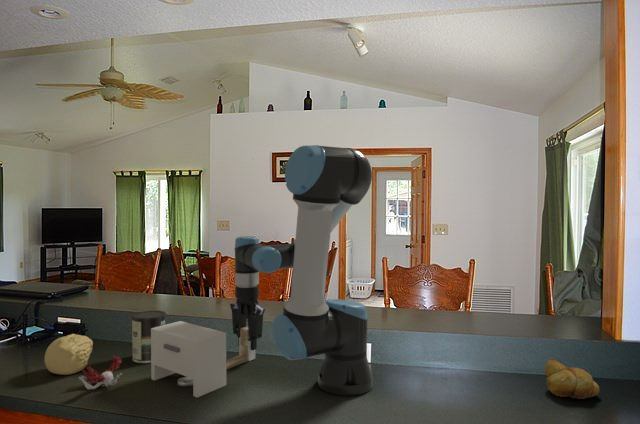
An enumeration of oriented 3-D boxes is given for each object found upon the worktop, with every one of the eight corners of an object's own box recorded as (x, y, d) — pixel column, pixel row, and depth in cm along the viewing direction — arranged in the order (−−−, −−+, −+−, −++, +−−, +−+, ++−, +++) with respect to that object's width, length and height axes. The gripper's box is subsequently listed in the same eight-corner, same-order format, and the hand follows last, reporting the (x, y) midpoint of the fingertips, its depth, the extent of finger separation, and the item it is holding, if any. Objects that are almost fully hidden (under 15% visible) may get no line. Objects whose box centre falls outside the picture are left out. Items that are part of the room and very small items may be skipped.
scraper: (259, 360, 148) (259, 329, 148) (215, 378, 133) (215, 343, 133) (241, 355, 153) (241, 324, 152) (197, 372, 138) (196, 338, 138)
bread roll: (595, 391, 126) (596, 361, 126) (604, 406, 117) (605, 374, 116) (543, 384, 130) (543, 356, 130) (547, 399, 121) (548, 368, 121)
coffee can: (172, 353, 154) (172, 311, 154) (155, 364, 144) (154, 319, 144) (144, 351, 156) (143, 309, 156) (125, 362, 146) (124, 317, 146)
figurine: (96, 374, 136) (96, 352, 136) (134, 376, 135) (134, 353, 135) (62, 396, 121) (62, 371, 121) (105, 399, 120) (105, 373, 120)
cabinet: (226, 385, 129) (226, 332, 128) (194, 398, 120) (194, 342, 120) (180, 368, 141) (180, 320, 140) (148, 380, 132) (148, 329, 131)
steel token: (198, 380, 133) (198, 376, 133) (193, 386, 128) (193, 382, 128) (180, 380, 133) (180, 376, 133) (174, 386, 128) (175, 382, 128)
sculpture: (73, 380, 132) (73, 342, 132) (35, 377, 134) (35, 340, 134) (99, 365, 143) (98, 330, 143) (63, 363, 145) (63, 328, 145)
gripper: (274, 286, 147) (274, 360, 148) (238, 280, 156) (238, 349, 157) (257, 290, 141) (257, 367, 142) (220, 284, 150) (221, 356, 151)
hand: (247, 358), depth 149 cm, fingers closed on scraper, 3 cm apart
